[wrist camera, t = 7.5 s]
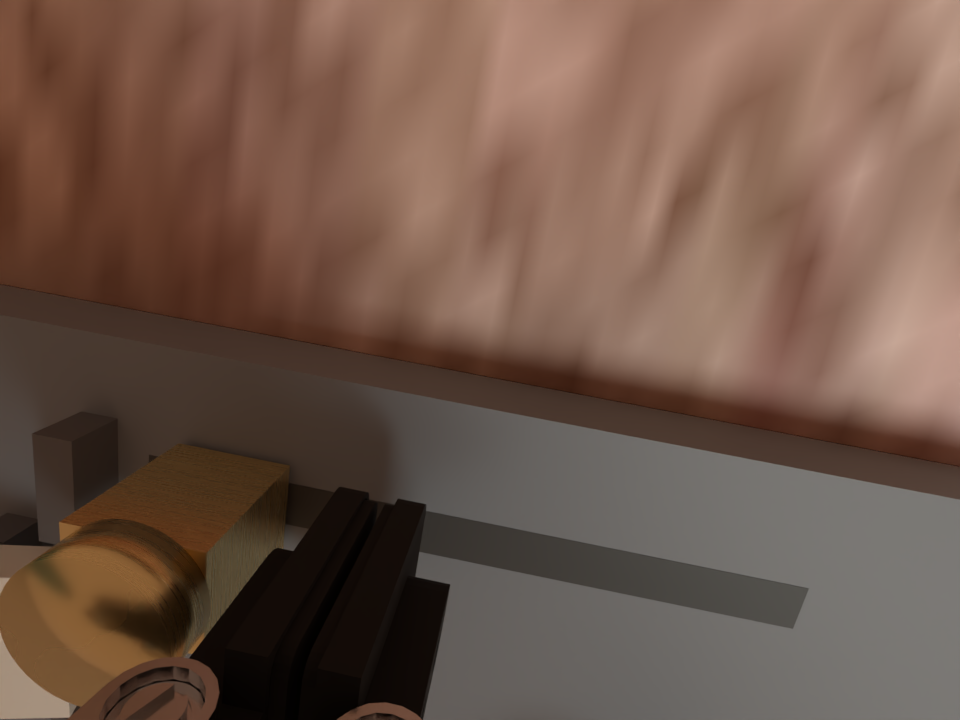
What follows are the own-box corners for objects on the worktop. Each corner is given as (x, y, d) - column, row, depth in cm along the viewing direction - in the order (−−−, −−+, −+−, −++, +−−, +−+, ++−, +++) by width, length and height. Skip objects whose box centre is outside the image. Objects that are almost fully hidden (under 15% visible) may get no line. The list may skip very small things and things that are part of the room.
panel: (1008, 475, 12) (1169, 566, 9) (812, 878, 16) (880, 1042, 13) (-13, 282, 13) (-179, 303, 10) (22, 699, 17) (-92, 809, 14)
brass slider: (295, 453, 11) (172, 580, 7) (286, 560, 12) (169, 727, 8) (174, 429, 11) (-10, 541, 8) (172, 537, 12) (4, 689, 8)
